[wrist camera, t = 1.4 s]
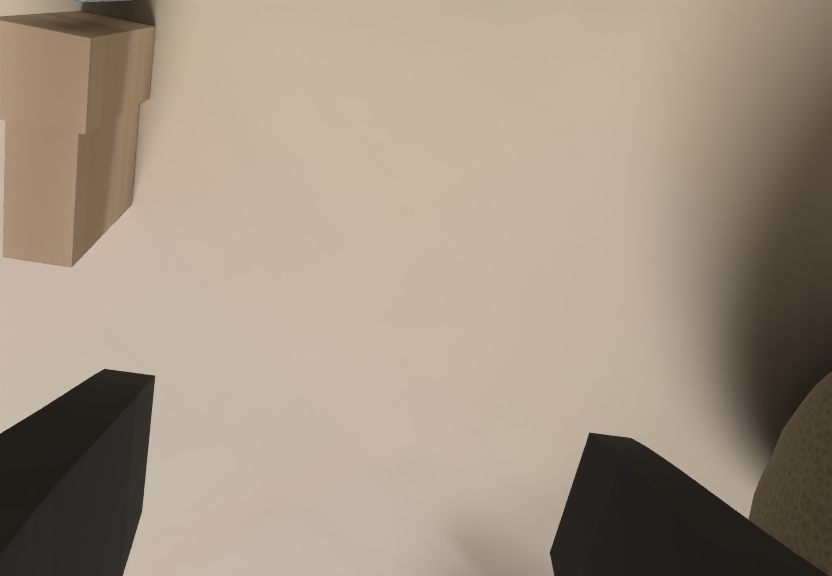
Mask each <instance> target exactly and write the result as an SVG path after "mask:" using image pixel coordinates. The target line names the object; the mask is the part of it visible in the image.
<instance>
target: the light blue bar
mask: <svg viewBox="0 0 832 576" xmlns="http://www.w3.org/2000/svg"><path fill="white" fill-rule="evenodd" d="M77 1H81V2H102V1H130V0H77Z"/></svg>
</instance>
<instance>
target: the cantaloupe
mask: <svg viewBox="0 0 832 576" xmlns="http://www.w3.org/2000/svg"><path fill="white" fill-rule="evenodd" d="M749 520H750V521H751V522H752V523H754V524H755V525H756V526H758V527H759V528H761V529H762V530H763V531H765V532H766V533H768V534H769V535H770V536H772V537H773V538H775V539H776V540H778V541H779V542H780V543H782V544H783V545H785V546H786V547H788V548H789V549H790V550H792V551H793V552H795V553H796V554H798V555H799V556H801V557H802V558H804V559H805V560H807V561H808V562H810V563H811V564H813V565H814V566H816V567H817V568H819V569H820V570H822V571H823V572H825V573H826V574H828V575H829V576H832V372H831V373H829V374H828V375H827V376H825V377H824V378H823V379H822V380H821V381H820V382H819V383H818V384H816V385H815V386H814V387H813V389H812V390H811V391H810V393H809V394H808V395H807V396H806V398H805V399H804V400H803V402H802V403H801V404H800V405H799V407H798V408H797V409H796V411H795V412H794V414H793V415H792V417H791V418H790V420H789V421H788V422H787V424H786V425H785V427H784V428H783V430H782V432H781V434H780V437H779V439H778V442H777V444H776V446H775V449H774V451H773V454H772V456H771V458H770V460H769V462H768V464H767V466H766V468H765V470H764V473H763V475H762V477H761V479H760V481H759V483H758V486H757V488H756V491H755V493H754V497H753V502H752V506H751V511H750V516H749Z"/></svg>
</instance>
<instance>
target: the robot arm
mask: <svg viewBox="0 0 832 576" xmlns="http://www.w3.org/2000/svg"><path fill="white" fill-rule="evenodd" d="M154 383H155V376H154V375H146V374H138V373H131V372H123V371H116V370H108V369H104V370H102V371H100V372H98V373H97V374H95V375H93V376H92V377H90V378H89V379H87V380H85V381H84V382H82V383H81V384H79V385H78V386H76V387H74V388H73V389H71V390H70V391H68V392H67V393H65V394H64V395H62V396H60V397H59V398H57V399H56V400H54V401H53V402H51V403H49V404H48V405H46V406H45V407H43V408H42V409H40V410H38V411H37V412H35V413H33V414H32V415H30V416H29V417H27V418H25V419H24V420H22V421H20V422H19V423H17V424H15V425H14V426H12V427H11V428H9V429H7V430H6V431H4V432H2V433H1V434H0V576H123V573H124V569H125V566H126V563H127V560H128V557H129V553H130V550H131V547H132V543H133V540H134V536H135V533H136V530H137V526H138V523H139V520H140V516H141V513H142V506H143V496H144V485H145V475H146V465H147V455H148V444H149V434H150V424H151V414H152V403H153V393H154ZM550 555H551V561H552V566H553V571H554V576H829V575H828V574H826V573H825V572H823V571H822V570H820V569H819V568H817V567H816V566H814V565H813V564H811V563H810V562H808V561H807V560H805V559H804V558H802V557H801V556H799V555H798V554H796V553H795V552H793V551H792V550H790V549H789V548H788V547H786V546H785V545H783V544H782V543H780V542H779V541H778V540H776V539H775V538H773V537H772V536H770V535H769V534H768V533H766V532H765V531H763V530H762V529H761V528H759V527H758V526H756V525H755V524H754V523H752V522H751V521H750V520H748V519H747V518H745V517H744V516H743V515H741V514H740V513H739V512H737V511H736V510H734V509H733V508H732V507H730V506H729V505H728V504H726V503H725V502H723V501H722V500H721V499H719V498H718V497H717V496H715V495H714V494H713V493H711V492H710V491H708V490H707V489H706V488H704V487H703V486H702V485H700V484H699V483H698V482H696V481H695V480H693V479H692V478H691V477H689V476H688V475H687V474H685V473H684V472H682V471H681V470H680V469H678V468H677V467H675V466H674V465H673V464H671V463H670V462H668V461H667V460H665V459H664V458H663V457H661V456H660V455H658V454H657V453H655V452H654V451H652V450H651V449H649V448H647V447H646V446H644V445H642V444H641V443H639V442H637V441H635V440H634V439H632V438H626V437H619V436H611V435H604V434H596V433H589V436H588V439H587V442H586V445H585V448H584V451H583V454H582V457H581V460H580V463H579V466H578V469H577V472H576V475H575V478H574V481H573V484H572V487H571V490H570V493H569V496H568V500H567V503H566V506H565V509H564V512H563V515H562V518H561V521H560V524H559V527H558V530H557V533H556V536H555V539H554V542H553V545H552V548H551V551H550Z"/></svg>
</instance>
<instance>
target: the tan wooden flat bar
mask: <svg viewBox="0 0 832 576" xmlns="http://www.w3.org/2000/svg"><path fill="white" fill-rule="evenodd" d="M154 37H155V26H151V25H146V24H141V23H136V22H132V21H127V20H122V19H117V18H112V17H107V16H102V15H97V14H93V13H88V12H83V11H73V12H59V13H44V14H30V15H16V16H1V17H0V119H2V120H6V122H5V176H4V230H3V257H6V258H12V259H19V260H25V261H32V262H39V263H45V264H52V265H58V266H65V267H72V266H73V265H74V264H75V263H76V262H77V261H78V260H79V259H80V258H81V257H82V256H83V255H84V254H85V253H86V252H87V251H88V250H89V249H90V248H91V247H92V246H93V245H94V244H95V243H96V241H97V240H98V239H99V238H100V237H101V236H102V235H103V234H104V233H105V232H106V231H107V230H108V229H109V228H110V227H111V226H112V225H113V224H114V223H115V222H116V221H117V220H118V219H119V218H120V217H121V215H122V214H123V213H124V212H125V211H126V210H127V209H128V208H129V207H130V206H131V205H132V197H133V185H134V172H135V159H136V147H137V134H138V121H139V109H140V103H142V102H144V101H146V100H147V99H149V97H150V85H151V73H152V61H153V49H154Z"/></svg>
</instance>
